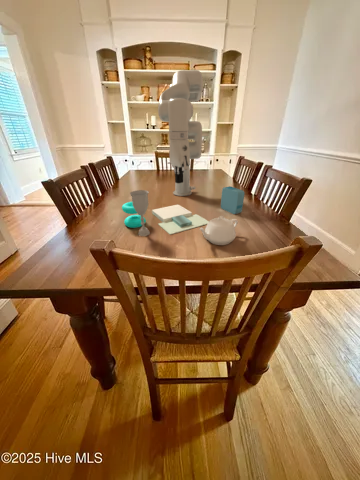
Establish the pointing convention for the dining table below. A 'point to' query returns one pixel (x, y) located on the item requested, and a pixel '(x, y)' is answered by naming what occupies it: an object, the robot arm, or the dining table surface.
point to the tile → (181, 221)
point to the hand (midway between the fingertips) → (179, 182)
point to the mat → (174, 228)
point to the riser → (170, 212)
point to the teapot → (220, 230)
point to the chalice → (141, 208)
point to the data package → (232, 200)
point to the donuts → (132, 216)
